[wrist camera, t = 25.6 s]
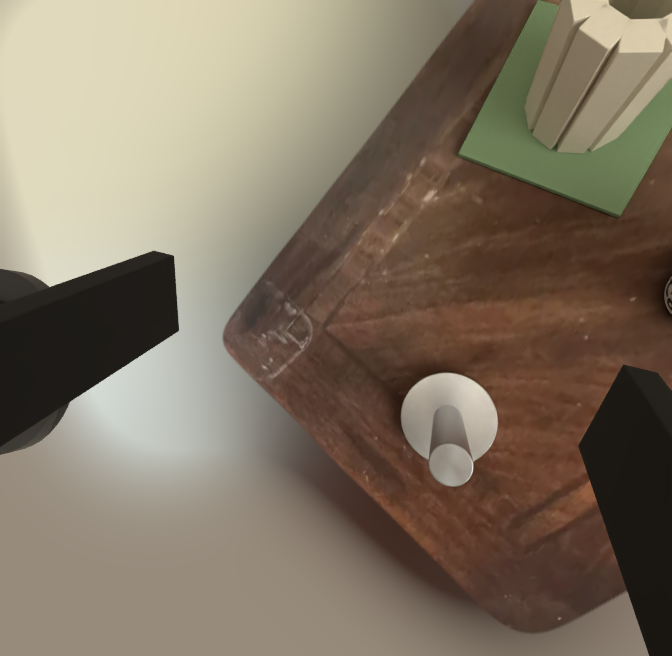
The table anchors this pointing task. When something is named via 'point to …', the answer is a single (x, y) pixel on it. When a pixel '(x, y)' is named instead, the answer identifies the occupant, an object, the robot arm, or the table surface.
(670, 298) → the cup
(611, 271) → the table surface
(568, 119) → the cream slatted holder
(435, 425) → the stand
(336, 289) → the table surface
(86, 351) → the robot arm
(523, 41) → the mat
